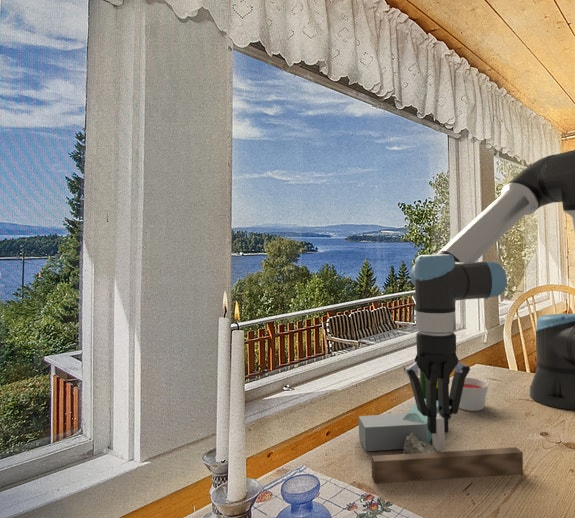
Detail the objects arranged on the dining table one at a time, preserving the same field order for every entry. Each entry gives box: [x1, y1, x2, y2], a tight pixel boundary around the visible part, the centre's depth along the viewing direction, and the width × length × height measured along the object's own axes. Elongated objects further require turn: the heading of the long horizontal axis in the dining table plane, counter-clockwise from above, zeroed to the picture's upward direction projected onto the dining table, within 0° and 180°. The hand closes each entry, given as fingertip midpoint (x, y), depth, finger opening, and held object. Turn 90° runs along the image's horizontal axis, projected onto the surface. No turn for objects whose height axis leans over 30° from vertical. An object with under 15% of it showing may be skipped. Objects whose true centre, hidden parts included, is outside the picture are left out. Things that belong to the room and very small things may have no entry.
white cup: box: [450, 376, 489, 412], centre depth 113 cm, size 9×9×6 cm
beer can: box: [419, 369, 438, 401], centre depth 113 cm, size 5×5×12 cm
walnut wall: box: [371, 446, 524, 484], centre depth 80 cm, size 28×2×4 cm, turn 93°
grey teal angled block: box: [358, 399, 440, 452], centre depth 98 cm, size 21×15×5 cm
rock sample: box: [402, 433, 442, 454], centre depth 85 cm, size 10×8×9 cm
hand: (438, 448), depth 86 cm, fingers closed
